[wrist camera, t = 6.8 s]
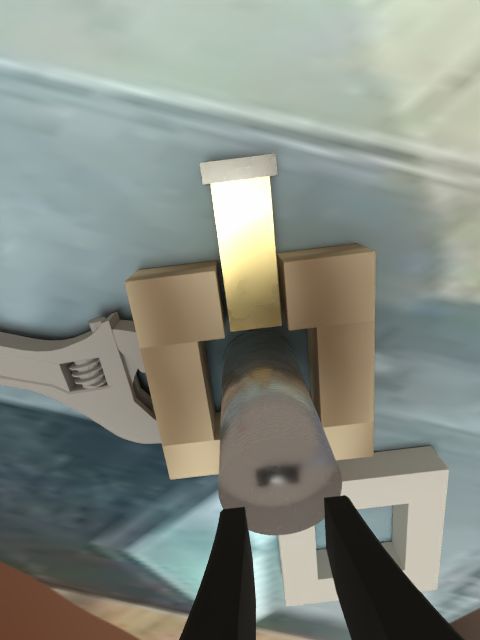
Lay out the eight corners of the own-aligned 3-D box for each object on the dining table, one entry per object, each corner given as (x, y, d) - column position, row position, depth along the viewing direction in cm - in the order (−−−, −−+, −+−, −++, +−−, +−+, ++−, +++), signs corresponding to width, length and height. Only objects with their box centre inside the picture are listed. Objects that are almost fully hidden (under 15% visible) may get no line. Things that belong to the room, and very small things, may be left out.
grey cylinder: (291, 326, 19) (340, 430, 11) (296, 390, 21) (343, 528, 12) (218, 335, 19) (209, 446, 11) (227, 398, 21) (226, 541, 12)
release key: (269, 158, 16) (275, 153, 14) (281, 310, 19) (288, 326, 17) (203, 166, 16) (199, 162, 14) (224, 316, 19) (224, 334, 17)
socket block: (356, 243, 18) (375, 251, 16) (357, 427, 22) (373, 456, 19) (137, 269, 18) (124, 282, 16) (176, 448, 22) (170, 479, 20)
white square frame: (430, 445, 22) (449, 469, 20) (421, 560, 26) (436, 589, 24) (269, 464, 22) (273, 489, 21) (282, 575, 26) (286, 606, 24)
